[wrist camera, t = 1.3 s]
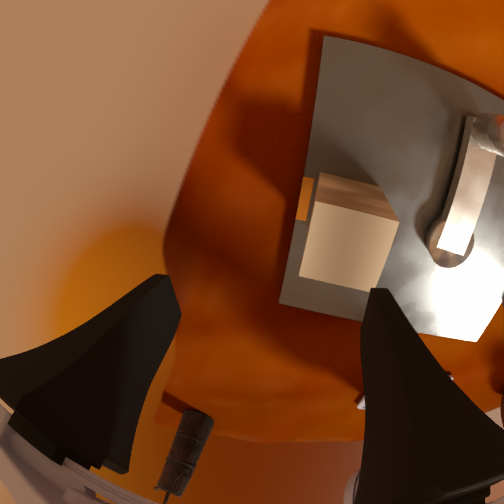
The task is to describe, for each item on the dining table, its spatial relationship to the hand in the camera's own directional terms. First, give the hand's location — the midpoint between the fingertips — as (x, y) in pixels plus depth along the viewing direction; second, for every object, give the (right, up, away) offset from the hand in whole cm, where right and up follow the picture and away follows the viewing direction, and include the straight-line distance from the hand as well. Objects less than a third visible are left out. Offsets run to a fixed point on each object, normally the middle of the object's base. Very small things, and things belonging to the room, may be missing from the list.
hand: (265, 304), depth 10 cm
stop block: (+5, +5, +8) cm, 11 cm away
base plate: (+13, +5, +7) cm, 15 cm away
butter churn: (-10, -25, +31) cm, 41 cm away
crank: (+14, +6, +4) cm, 16 cm away
